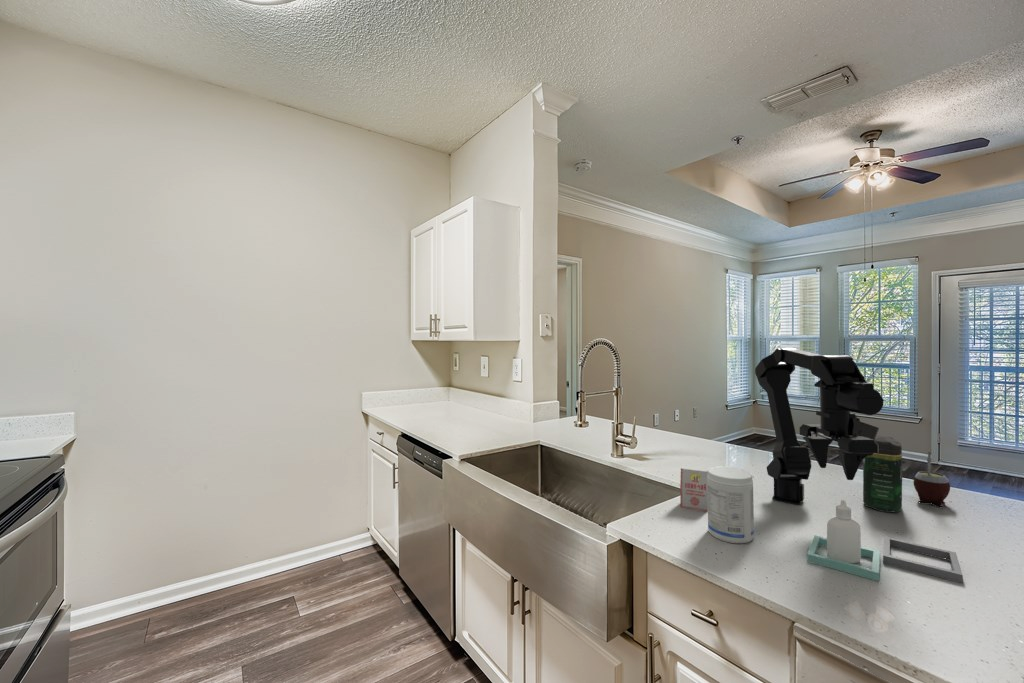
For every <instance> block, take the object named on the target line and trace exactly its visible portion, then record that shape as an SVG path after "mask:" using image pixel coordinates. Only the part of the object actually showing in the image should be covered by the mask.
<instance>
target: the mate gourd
mask: <svg viewBox="0 0 1024 683" xmlns="http://www.w3.org/2000/svg"><path fill="white" fill-rule="evenodd" d="M931 457H932V452H931V451H928V452H927V458H926V461H927V471H926V470H925V471H923V470H920V471H918V472H916V474H915V475H914V478H913V486H914V488H915V491H916V493H917V495H918V499H919V500H918V502H920V503H919V504H921V503H932V504H931V505H933V504H934V505H933V506H935V505H936V507H937V506H938V507H937V508H940V507H942V508H941V509H943V508H944V505H945V504H946V501H945V499H946V498H947V497H948V496H949V494H950V491H951V484H950V481H949V479H948V478H947V477H946V475H944V474H941V473H939V472H934V471H931V467H932V466H931V465H932V464H931V463H932V458H931ZM918 502H917V503H918Z"/></svg>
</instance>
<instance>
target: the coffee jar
mask: <svg viewBox="0 0 1024 683" xmlns="http://www.w3.org/2000/svg"><path fill="white" fill-rule="evenodd" d="M875 441H876V442H877V443H878V453H874V454H873V455H871V456H867V457H865V458H864V459H863V460H862V466H863V467H862V471H863V475H862V479H863V480H862V481H863V483H862V485H863V486H862V499H863V500H862V502H863V505H865V506H866V507H869V508H871V509H874V510H876V511H879V510H880V512H884V511H886V512H892V513H899V512H900V511H901V510H902V508H903V452H902V449H903V448H902V443H901V442H899V440H896V439H894V438H893V437H890V436H882V435H876V438H875ZM886 512H885V513H886Z"/></svg>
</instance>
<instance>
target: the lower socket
mask: <svg viewBox="0 0 1024 683" xmlns="http://www.w3.org/2000/svg"><path fill="white" fill-rule="evenodd" d="M820 546H823V547H826V548H827V537H824V536H821V535H816V534H814V535H813V538H812V540H811V544H810V546H809V548H808V551H807V553H806V555H807V558H806V559H807V561H806V562H808V563H812V564H815V565H820V566H822V567H825V568H830V569H834V570H837V571H840V572H844V573H849V574H852V575H854V576H858V577H862V578H865V579H869V580H872V581H876V582H879V581H880V566H881V564H880V563H881V551H880V550H878V549H874V548H869V547H866V546H862V545H861V555H862V556H861V557H865V556H866V557H867V558H869V557H870V558H871V559H872V564H871V568H869V567H865V566H861V565H858V564H856V563H847V562H843V561H839V560H836V559H832V558H829V557H828V556H824V555H820V554H817V553H818V550H819V547H820ZM866 557H865V558H866Z"/></svg>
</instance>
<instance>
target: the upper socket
mask: <svg viewBox="0 0 1024 683" xmlns="http://www.w3.org/2000/svg"><path fill="white" fill-rule="evenodd" d="M882 545H883V548H882V549H883V550H882V563H883V564H885V565H890V566H893V567H899V568H901V569H906V570H910V571H912V572H913V571H914V572H918V573H921V574H924V573H925V575H928V574H929V576H932V575H933V577H936V576H937V578H940V579H944V578H945V580H948V579H949V580H948V581H951V582H957V583H959V584H963V582H964V581H963V578H964V576H963V572H962V569H961V565H960V562H959V559H958V555H957V552H955V551H951V550H946V549H942V548H937V547H934V546H929V545H924V544H920V543H915V542H911V541H908V540H907V541H906V540H902V539H898V538H892V537H889V536H884V535H883V544H882ZM891 546H893V548H895V547H897V549H900V548H901V550H904V549H906V550H905V551H908V550H910V551H909V552H913V551H915V552H914V553H917V552H919V553H918V554H921V553H923V554H922V555H925V554H927V556H930V555H932V556H931V557H934V556H936V557H935V558H938V557H941V558H940V559H943V558H946V559H945V560H947V559H949V560H950V561H949V560H948V561H949V564H950V567H951V568H950V569H947V568H944V567H939V566H935V565H931V564H927V563H924V562H923V563H922V562H918V561H915V560H911V559H907V558H903V557H898V556H894V555H891Z"/></svg>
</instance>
